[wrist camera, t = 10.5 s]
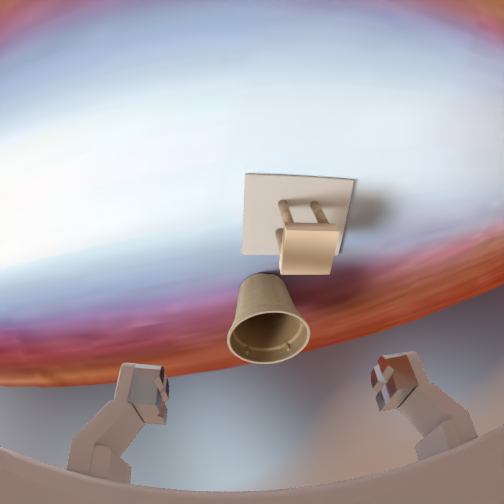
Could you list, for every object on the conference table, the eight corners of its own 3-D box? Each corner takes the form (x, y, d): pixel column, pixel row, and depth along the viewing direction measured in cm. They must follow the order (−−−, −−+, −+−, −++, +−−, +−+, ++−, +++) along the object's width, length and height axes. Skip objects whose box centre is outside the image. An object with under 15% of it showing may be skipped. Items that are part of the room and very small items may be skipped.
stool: (276, 197, 34) (286, 230, 28) (321, 199, 34) (339, 231, 28) (272, 237, 36) (280, 274, 31) (314, 237, 37) (329, 274, 31)
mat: (245, 173, 32) (245, 174, 32) (352, 179, 33) (354, 180, 33) (241, 252, 38) (241, 254, 37) (337, 253, 39) (337, 255, 38)
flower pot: (312, 278, 41) (327, 326, 34) (274, 322, 45) (280, 370, 38) (249, 250, 38) (254, 299, 31) (215, 301, 42) (213, 351, 35)
